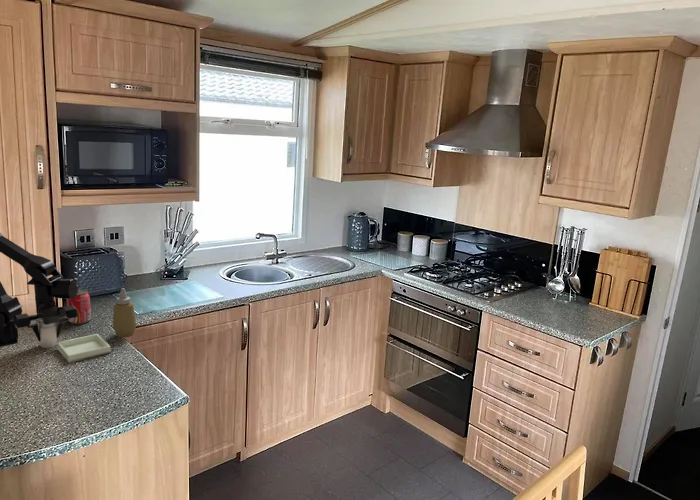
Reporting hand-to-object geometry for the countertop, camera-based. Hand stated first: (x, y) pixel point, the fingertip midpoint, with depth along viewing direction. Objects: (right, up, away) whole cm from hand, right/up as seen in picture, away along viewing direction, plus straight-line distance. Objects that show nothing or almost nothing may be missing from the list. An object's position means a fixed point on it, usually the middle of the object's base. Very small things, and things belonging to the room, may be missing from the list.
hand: (48, 339), depth 188 cm
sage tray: (+14, -4, -3) cm, 15 cm away
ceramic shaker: (0, -2, +1) cm, 2 cm away
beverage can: (0, +3, +23) cm, 23 cm away
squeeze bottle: (+22, -1, +12) cm, 25 cm away
